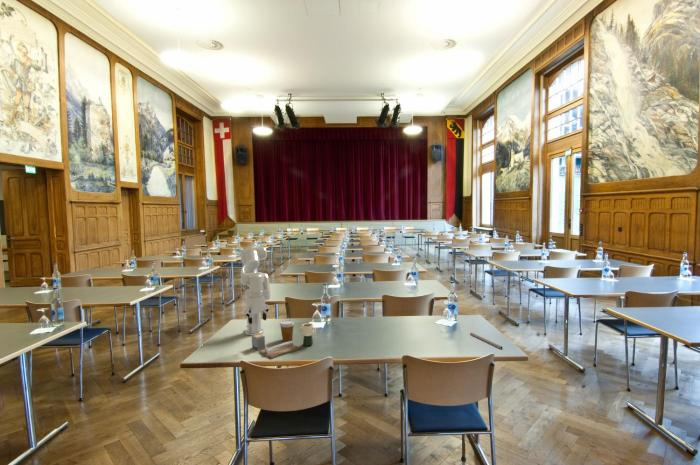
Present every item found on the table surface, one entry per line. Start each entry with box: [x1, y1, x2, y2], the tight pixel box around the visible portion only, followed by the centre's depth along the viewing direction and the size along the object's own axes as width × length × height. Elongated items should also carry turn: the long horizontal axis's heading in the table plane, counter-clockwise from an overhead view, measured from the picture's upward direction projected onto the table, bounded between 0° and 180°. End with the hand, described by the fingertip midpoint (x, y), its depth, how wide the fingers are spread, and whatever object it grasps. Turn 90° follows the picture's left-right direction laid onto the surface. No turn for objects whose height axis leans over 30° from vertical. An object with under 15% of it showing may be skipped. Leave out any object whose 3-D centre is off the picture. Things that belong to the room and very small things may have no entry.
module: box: [251, 334, 266, 352], centre depth 227 cm, size 7×5×8 cm
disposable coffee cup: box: [279, 319, 295, 342], centre depth 241 cm, size 10×10×12 cm
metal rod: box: [469, 331, 503, 350], centre depth 232 cm, size 2×27×2 cm, turn 21°
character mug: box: [298, 322, 317, 347], centre depth 231 cm, size 11×7×13 cm, turn 82°
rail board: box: [258, 340, 300, 360], centre depth 223 cm, size 14×20×3 cm
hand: (257, 321), depth 226 cm, fingers open, 9 cm apart
